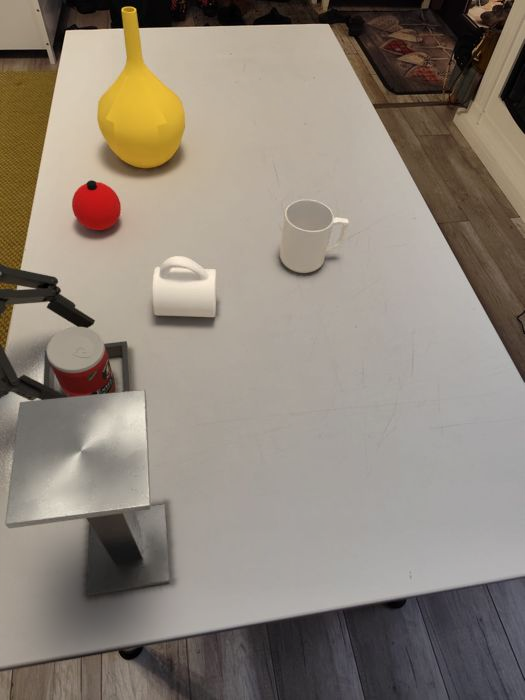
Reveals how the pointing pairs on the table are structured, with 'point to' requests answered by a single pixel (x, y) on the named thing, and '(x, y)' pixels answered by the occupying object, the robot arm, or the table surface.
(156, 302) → the mug
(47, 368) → the grey square frame
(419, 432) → the table surface
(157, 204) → the table surface
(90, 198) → the ornament
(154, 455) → the table surface
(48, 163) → the table surface
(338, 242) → the mug
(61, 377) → the canned food
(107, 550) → the steel stand
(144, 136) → the vase
